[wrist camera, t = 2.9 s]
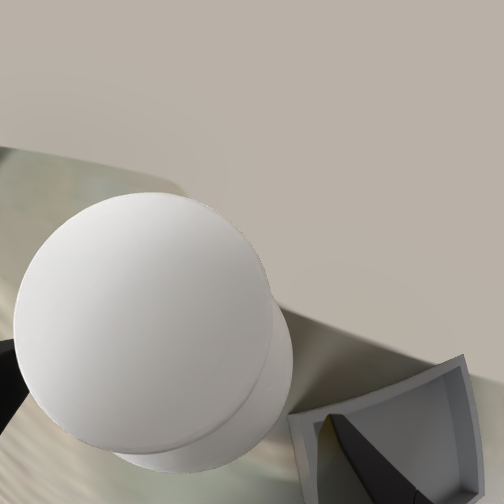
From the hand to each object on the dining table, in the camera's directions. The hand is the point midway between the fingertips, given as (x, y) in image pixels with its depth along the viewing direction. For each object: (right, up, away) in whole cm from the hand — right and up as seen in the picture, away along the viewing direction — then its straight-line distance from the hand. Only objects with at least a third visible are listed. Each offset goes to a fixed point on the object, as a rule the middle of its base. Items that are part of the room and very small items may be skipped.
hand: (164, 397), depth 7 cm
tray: (+11, -9, +5) cm, 15 cm away
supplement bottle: (0, -4, +8) cm, 9 cm away
